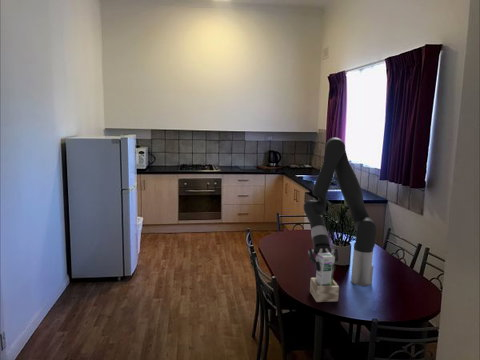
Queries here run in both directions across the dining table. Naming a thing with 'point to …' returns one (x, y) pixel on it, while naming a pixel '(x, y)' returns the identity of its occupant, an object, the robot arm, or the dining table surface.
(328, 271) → the syrup box
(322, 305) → the dining table surface
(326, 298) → the holder
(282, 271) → the dining table surface
